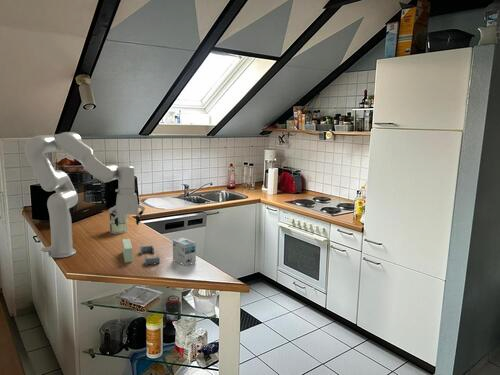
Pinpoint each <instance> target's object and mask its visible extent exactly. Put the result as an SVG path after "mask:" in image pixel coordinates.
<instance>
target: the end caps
mask: <svg viewBox="0 0 500 375" xmlns="http://www.w3.org/2000/svg"><path fill="white" fill-rule="evenodd" d="M143 252H144V253H153V254H155V248H154V245H144V246H143V245H142V246H139V254H140V255H143ZM143 257H144V264H152V265H155V264H154V263H160V256H159V254H158V255H157V254H156V256H155V257H147V256H146V255H145V256H143Z"/></svg>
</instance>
